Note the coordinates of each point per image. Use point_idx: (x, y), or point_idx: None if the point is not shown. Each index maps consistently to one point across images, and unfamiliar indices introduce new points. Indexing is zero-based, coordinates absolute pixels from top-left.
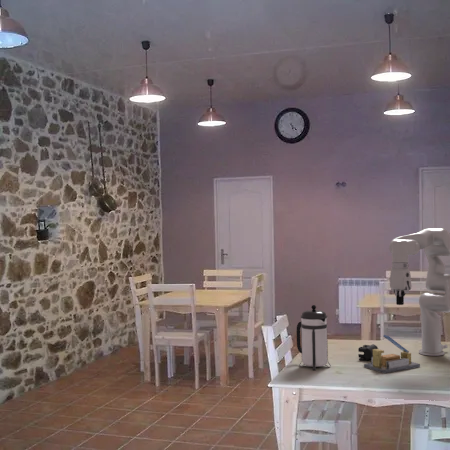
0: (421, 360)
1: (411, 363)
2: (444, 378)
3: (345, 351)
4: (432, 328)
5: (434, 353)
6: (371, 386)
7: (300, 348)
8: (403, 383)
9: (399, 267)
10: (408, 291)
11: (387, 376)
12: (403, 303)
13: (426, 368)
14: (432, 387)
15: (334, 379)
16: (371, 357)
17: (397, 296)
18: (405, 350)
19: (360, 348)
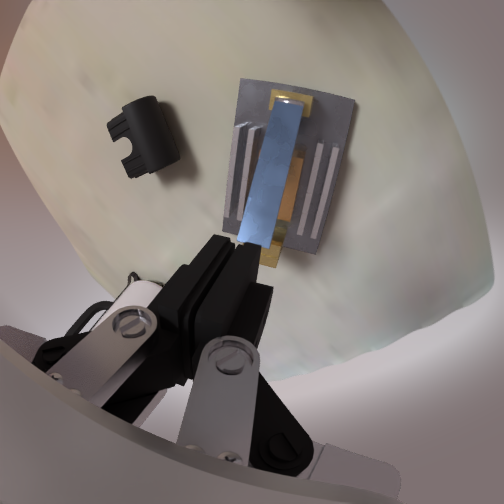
0: (289, 9)
1: (327, 113)
2: (475, 188)
3: (68, 121)
4: None
5: None
6: (356, 349)
7: (100, 309)
8: (406, 297)
9: None
10: (390, 495)
11: (342, 269)
12: (257, 251)
13: (380, 101)
14: (470, 284)
15: (264, 349)
16: (178, 152)
17: (183, 380)
18: (300, 120)
19: (134, 175)
